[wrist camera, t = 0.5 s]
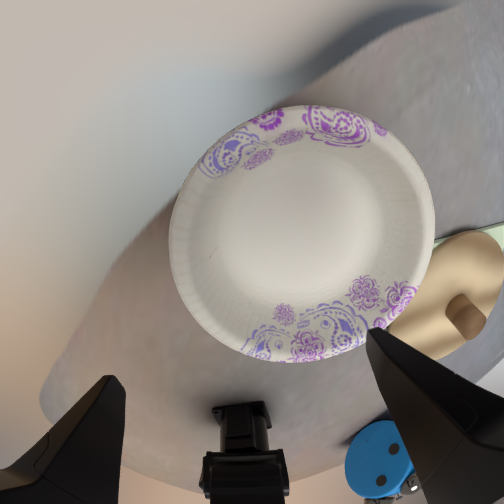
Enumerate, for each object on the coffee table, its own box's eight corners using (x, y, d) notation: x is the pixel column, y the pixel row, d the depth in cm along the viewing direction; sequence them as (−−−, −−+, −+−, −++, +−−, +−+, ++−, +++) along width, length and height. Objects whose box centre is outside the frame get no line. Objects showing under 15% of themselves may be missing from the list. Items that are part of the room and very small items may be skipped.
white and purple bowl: (315, 72, 17) (360, 48, 10) (407, 231, 23) (461, 276, 16) (147, 197, 20) (106, 240, 13) (267, 326, 26) (277, 394, 19)
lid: (481, 333, 29) (499, 354, 25) (380, 374, 30) (394, 405, 26) (510, 219, 22) (538, 236, 18) (394, 248, 23) (424, 276, 18)
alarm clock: (358, 446, 41) (378, 513, 27) (335, 445, 39) (353, 519, 26) (413, 406, 36) (445, 478, 23) (392, 402, 35) (426, 484, 21)
